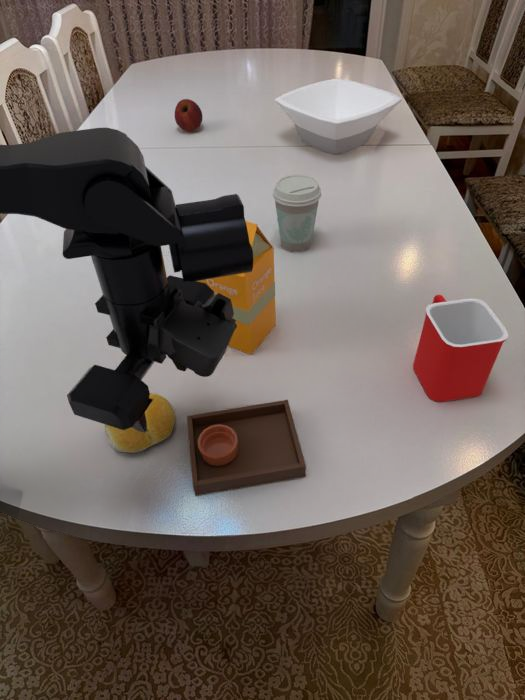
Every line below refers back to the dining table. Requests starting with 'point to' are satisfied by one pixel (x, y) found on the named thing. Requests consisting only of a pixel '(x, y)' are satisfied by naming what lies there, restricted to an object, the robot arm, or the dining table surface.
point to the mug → (457, 348)
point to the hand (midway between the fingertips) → (163, 398)
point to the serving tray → (248, 448)
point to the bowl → (337, 113)
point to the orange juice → (251, 294)
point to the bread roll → (158, 428)
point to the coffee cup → (296, 210)
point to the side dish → (218, 445)
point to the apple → (188, 115)
